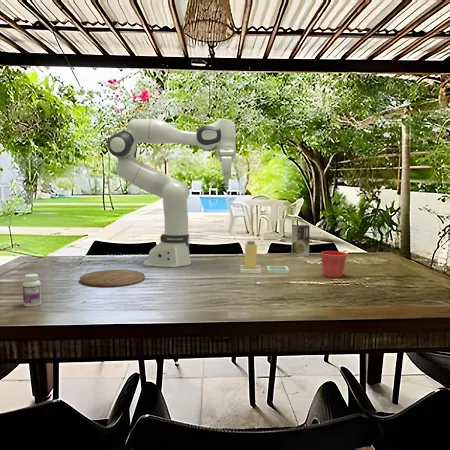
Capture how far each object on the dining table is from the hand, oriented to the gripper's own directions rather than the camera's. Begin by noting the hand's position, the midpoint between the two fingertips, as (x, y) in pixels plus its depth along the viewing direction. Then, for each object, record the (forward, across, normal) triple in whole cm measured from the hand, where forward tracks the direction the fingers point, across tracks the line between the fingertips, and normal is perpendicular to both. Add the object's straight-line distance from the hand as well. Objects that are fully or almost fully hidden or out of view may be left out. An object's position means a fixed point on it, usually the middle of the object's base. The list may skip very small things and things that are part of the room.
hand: (226, 184), depth 204 cm
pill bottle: (+43, +63, -63) cm, 99 cm away
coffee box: (+36, -32, +40) cm, 62 cm away
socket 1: (+39, +10, +10) cm, 41 cm away
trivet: (+41, +28, -46) cm, 67 cm away
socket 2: (+39, +10, +22) cm, 46 cm away
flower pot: (+40, +18, +45) cm, 63 cm away
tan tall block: (+39, +9, +10) cm, 41 cm away
